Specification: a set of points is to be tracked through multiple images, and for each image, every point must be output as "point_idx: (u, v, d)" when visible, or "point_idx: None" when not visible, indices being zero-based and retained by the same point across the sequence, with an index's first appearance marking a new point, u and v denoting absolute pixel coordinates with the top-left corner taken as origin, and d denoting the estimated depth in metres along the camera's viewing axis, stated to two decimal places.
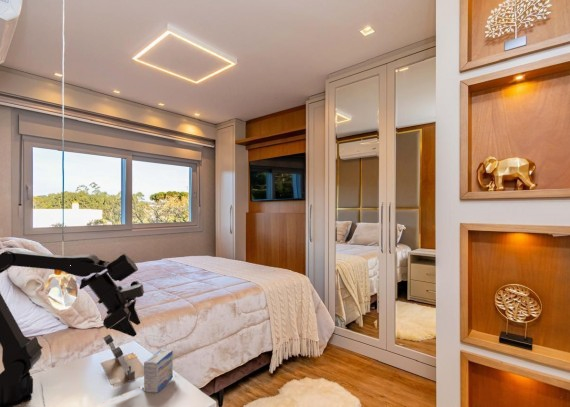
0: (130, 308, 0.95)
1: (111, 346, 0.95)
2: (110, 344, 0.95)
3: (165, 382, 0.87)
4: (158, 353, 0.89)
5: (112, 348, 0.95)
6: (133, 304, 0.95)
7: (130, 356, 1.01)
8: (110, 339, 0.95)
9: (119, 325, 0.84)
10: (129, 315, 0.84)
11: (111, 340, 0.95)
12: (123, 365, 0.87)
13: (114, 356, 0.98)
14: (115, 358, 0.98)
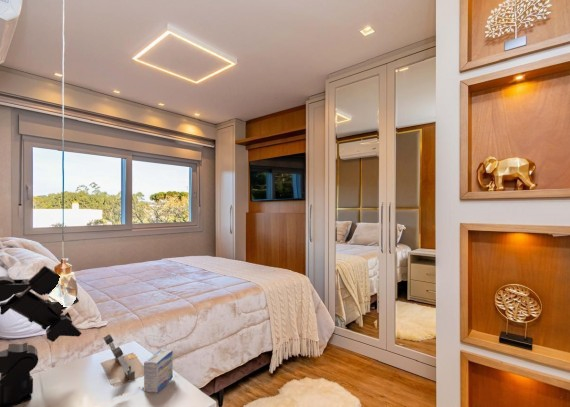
0: None
1: (111, 346, 0.95)
2: (110, 344, 0.95)
3: (165, 382, 0.87)
4: (158, 353, 0.89)
5: (112, 348, 0.95)
6: (67, 317, 0.89)
7: (130, 356, 1.01)
8: (110, 339, 0.95)
9: None
10: (70, 318, 0.87)
11: (111, 340, 0.95)
12: (123, 365, 0.87)
13: (114, 356, 0.98)
14: (115, 358, 0.98)
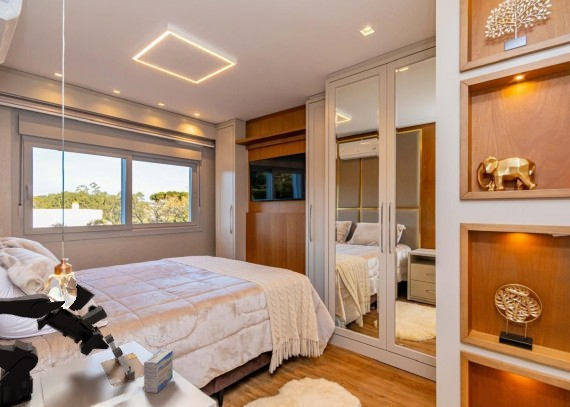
0: None
1: (112, 346, 0.95)
2: (111, 344, 0.95)
3: (165, 382, 0.87)
4: (158, 353, 0.89)
5: (113, 348, 0.95)
6: (96, 331, 0.94)
7: (130, 356, 1.01)
8: (111, 338, 0.95)
9: None
10: (100, 332, 0.92)
11: (112, 340, 0.95)
12: (123, 365, 0.87)
13: None
14: None
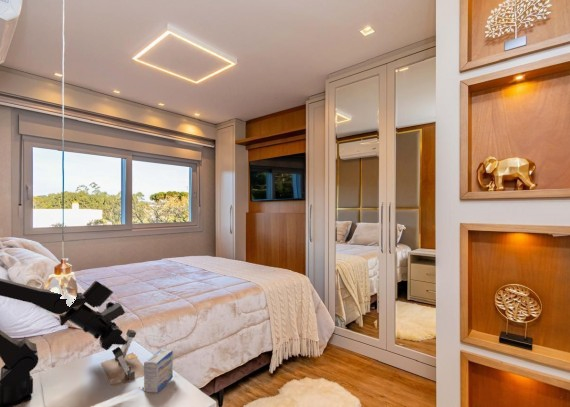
0: None
1: (129, 341, 0.99)
2: (130, 338, 0.99)
3: (165, 382, 0.87)
4: (158, 353, 0.89)
5: (128, 343, 0.98)
6: None
7: (130, 356, 1.01)
8: (133, 334, 1.00)
9: None
10: (118, 328, 0.96)
11: (133, 335, 1.00)
12: (123, 365, 0.87)
13: None
14: None
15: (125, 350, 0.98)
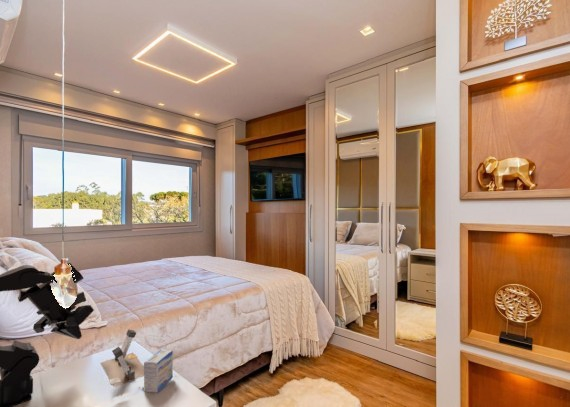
0: None
1: (129, 341, 0.99)
2: (130, 338, 0.99)
3: (165, 382, 0.87)
4: (158, 353, 0.89)
5: (128, 343, 0.98)
6: None
7: (130, 356, 1.01)
8: (133, 334, 1.00)
9: (69, 327, 0.88)
10: None
11: (133, 335, 1.00)
12: (123, 365, 0.87)
13: None
14: None
15: (125, 350, 0.98)
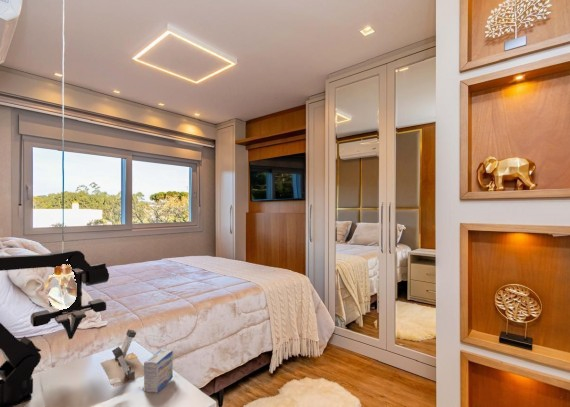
0: None
1: (129, 341, 0.99)
2: (130, 338, 0.99)
3: (165, 382, 0.87)
4: (158, 353, 0.89)
5: (128, 343, 0.98)
6: None
7: (130, 356, 1.01)
8: (133, 334, 1.00)
9: None
10: None
11: (133, 335, 1.00)
12: (123, 365, 0.87)
13: None
14: None
15: (125, 350, 0.98)
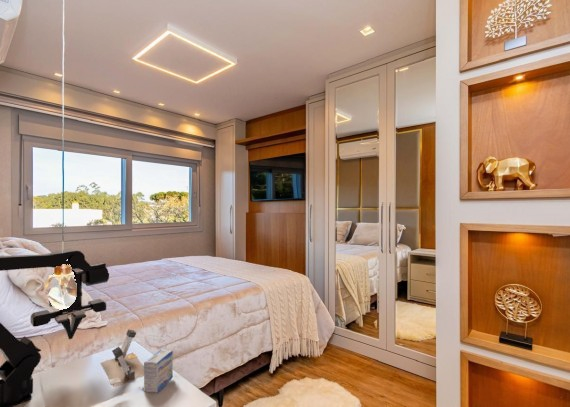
0: None
1: (129, 341, 0.99)
2: (130, 338, 0.99)
3: (165, 382, 0.87)
4: (158, 353, 0.89)
5: (128, 343, 0.98)
6: None
7: (130, 356, 1.01)
8: (133, 334, 1.00)
9: None
10: None
11: (133, 335, 1.00)
12: (123, 365, 0.87)
13: None
14: None
15: (125, 350, 0.98)
